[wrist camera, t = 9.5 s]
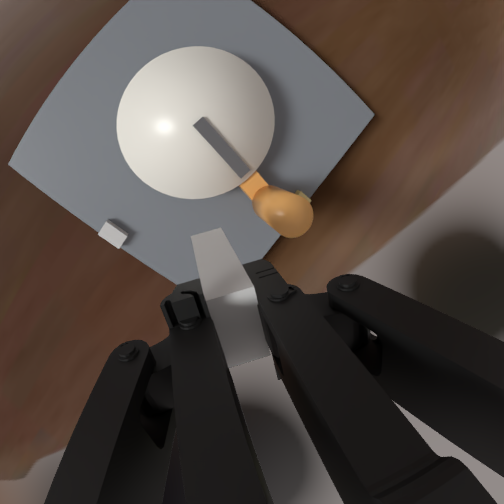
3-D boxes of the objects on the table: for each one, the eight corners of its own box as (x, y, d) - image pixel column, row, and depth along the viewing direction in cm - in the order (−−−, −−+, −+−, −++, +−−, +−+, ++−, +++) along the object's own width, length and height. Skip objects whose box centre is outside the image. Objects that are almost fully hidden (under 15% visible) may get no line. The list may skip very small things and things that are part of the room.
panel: (180, -34, 19) (182, -49, 17) (362, 115, 27) (379, 114, 25) (18, 162, 21) (3, 165, 19) (216, 300, 30) (221, 315, 27)
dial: (91, 123, 20) (64, 115, 14) (203, 27, 20) (215, -9, 14) (223, 258, 26) (239, 293, 20) (323, 166, 26) (366, 174, 20)
